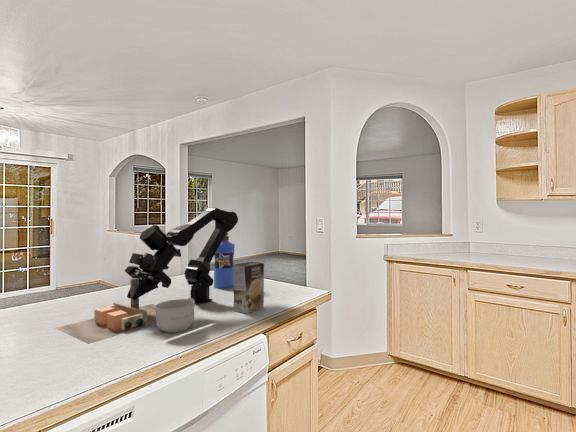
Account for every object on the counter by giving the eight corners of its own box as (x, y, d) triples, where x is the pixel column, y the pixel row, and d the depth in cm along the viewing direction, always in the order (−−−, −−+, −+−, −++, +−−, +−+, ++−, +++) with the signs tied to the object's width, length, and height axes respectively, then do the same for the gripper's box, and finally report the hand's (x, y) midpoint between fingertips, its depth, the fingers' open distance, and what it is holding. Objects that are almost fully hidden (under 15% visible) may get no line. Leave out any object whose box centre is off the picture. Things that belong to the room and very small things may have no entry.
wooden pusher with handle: (123, 311, 115) (123, 275, 114) (154, 321, 104) (154, 281, 104) (93, 318, 107) (93, 279, 107) (124, 330, 97) (124, 287, 96)
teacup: (172, 339, 92) (172, 310, 92) (147, 332, 98) (146, 304, 97) (210, 324, 104) (209, 298, 104) (185, 318, 109) (185, 294, 109)
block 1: (108, 319, 107) (108, 306, 107) (115, 321, 105) (115, 308, 105) (95, 322, 104) (95, 309, 104) (101, 325, 102) (101, 311, 102)
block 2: (120, 323, 103) (120, 310, 103) (127, 326, 101) (127, 312, 101) (106, 327, 100) (106, 313, 100) (114, 329, 98) (113, 316, 97)
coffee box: (247, 314, 114) (246, 266, 114) (233, 310, 118) (233, 264, 118) (264, 307, 122) (264, 262, 121) (250, 304, 125) (250, 261, 125)
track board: (151, 305, 124) (151, 303, 124) (187, 315, 113) (187, 313, 113) (55, 330, 99) (55, 328, 99) (88, 346, 88) (88, 343, 88)
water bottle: (214, 284, 159) (214, 230, 159) (235, 284, 160) (234, 230, 160) (212, 289, 150) (212, 232, 150) (234, 288, 151) (233, 232, 151)
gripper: (129, 242, 117) (96, 279, 108) (162, 245, 106) (129, 287, 97) (151, 262, 123) (121, 299, 114) (184, 267, 112) (154, 308, 104)
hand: (130, 298), depth 107 cm, fingers closed on wooden pusher with handle, 2 cm apart
